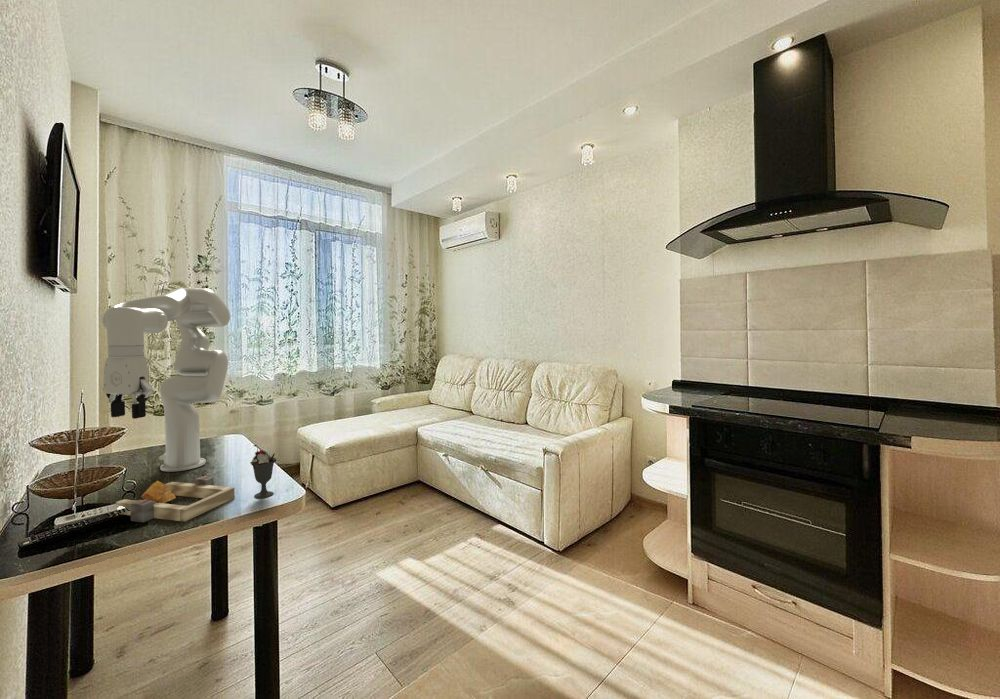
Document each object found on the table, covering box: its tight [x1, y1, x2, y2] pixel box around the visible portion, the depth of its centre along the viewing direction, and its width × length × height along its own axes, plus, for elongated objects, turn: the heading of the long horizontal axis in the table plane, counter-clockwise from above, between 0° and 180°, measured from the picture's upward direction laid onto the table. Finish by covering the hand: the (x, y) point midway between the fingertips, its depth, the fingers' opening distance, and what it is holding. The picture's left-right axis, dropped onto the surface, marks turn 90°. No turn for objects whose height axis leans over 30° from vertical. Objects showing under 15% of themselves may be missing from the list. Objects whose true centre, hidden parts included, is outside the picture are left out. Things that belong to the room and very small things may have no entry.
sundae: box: [249, 444, 277, 499], centre depth 120 cm, size 7×7×15 cm
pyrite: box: [141, 480, 177, 504], centre depth 115 cm, size 5×7×4 cm
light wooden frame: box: [115, 475, 235, 523], centre depth 113 cm, size 22×20×5 cm
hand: (128, 416), depth 115 cm, fingers open, 6 cm apart
